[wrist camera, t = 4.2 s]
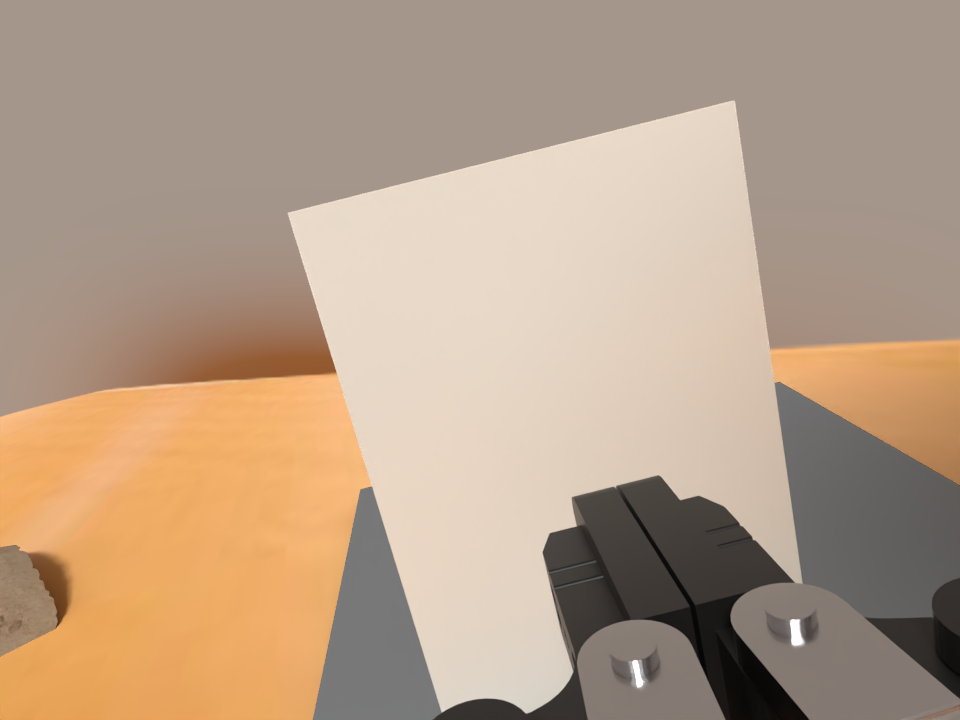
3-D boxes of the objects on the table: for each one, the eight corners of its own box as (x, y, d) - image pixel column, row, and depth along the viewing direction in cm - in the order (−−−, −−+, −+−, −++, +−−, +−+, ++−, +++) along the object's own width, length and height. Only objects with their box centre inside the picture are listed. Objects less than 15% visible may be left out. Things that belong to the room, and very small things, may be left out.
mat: (780, 390, 37) (779, 381, 36) (1275, 686, 15) (1276, 667, 15) (363, 498, 36) (360, 489, 36) (276, 951, 15) (269, 933, 15)
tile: (780, 603, 21) (705, 107, 17) (810, 639, 19) (734, 100, 16) (446, 690, 21) (300, 209, 17) (448, 733, 19) (287, 213, 15)
